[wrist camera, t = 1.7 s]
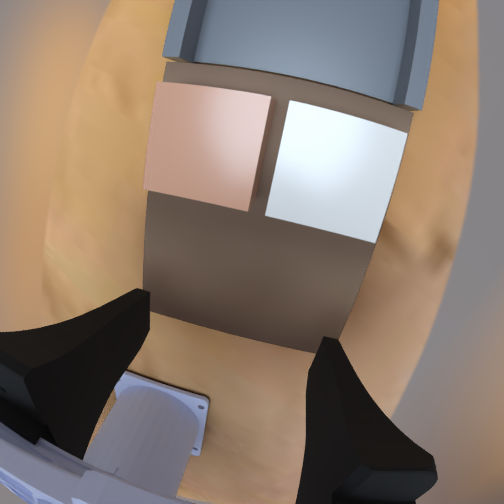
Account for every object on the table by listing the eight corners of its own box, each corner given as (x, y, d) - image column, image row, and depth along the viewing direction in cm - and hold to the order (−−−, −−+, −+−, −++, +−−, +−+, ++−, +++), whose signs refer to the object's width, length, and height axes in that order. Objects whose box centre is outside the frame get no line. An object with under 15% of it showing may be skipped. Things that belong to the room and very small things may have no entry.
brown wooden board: (328, 322, 18) (330, 356, 16) (163, 281, 19) (142, 308, 16) (393, 113, 13) (413, 112, 11) (190, 70, 14) (166, 61, 11)
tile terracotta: (255, 197, 13) (247, 211, 11) (164, 178, 13) (143, 189, 11) (276, 100, 11) (271, 96, 9) (177, 85, 12) (157, 81, 10)
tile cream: (365, 225, 13) (375, 243, 11) (270, 201, 13) (264, 215, 11) (392, 130, 11) (407, 133, 9) (291, 103, 11) (289, 100, 9)
